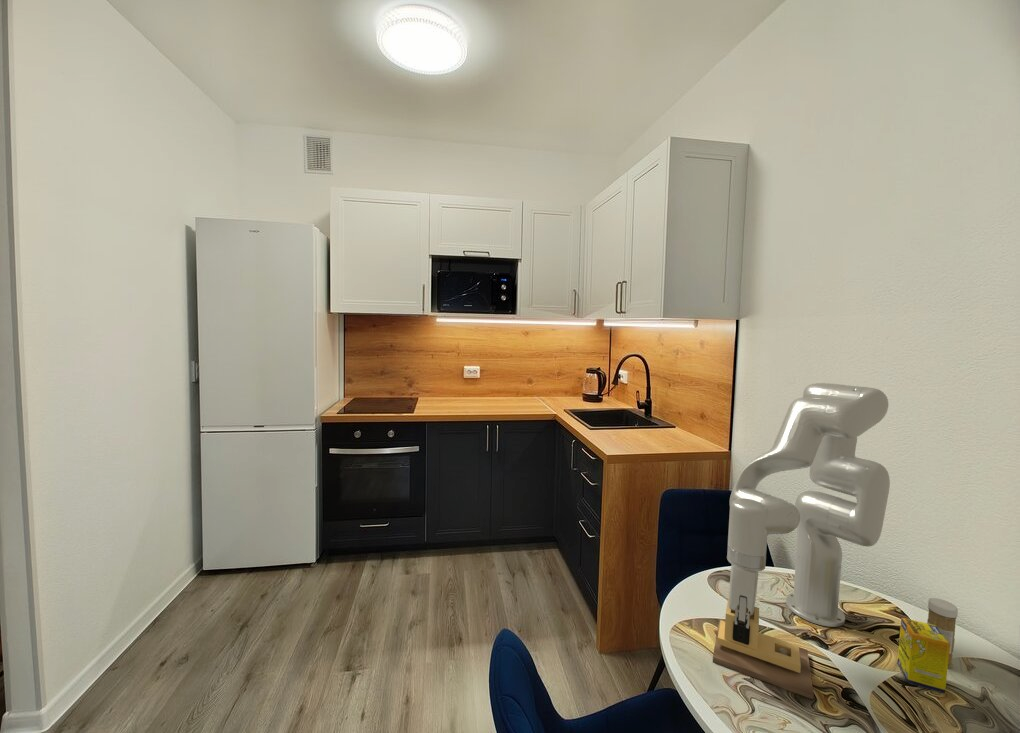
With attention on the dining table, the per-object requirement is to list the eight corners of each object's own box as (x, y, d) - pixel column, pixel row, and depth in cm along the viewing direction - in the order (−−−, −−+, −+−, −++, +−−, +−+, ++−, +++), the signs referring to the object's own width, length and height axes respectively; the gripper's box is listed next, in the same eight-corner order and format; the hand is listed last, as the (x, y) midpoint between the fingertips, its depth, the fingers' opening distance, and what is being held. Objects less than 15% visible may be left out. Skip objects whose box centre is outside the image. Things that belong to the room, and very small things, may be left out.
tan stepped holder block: (717, 643, 95) (719, 612, 95) (720, 626, 101) (721, 596, 101) (800, 673, 87) (802, 638, 87) (798, 651, 93) (800, 619, 93)
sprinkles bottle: (954, 663, 94) (960, 605, 93) (949, 671, 91) (955, 612, 90) (926, 650, 98) (931, 594, 97) (920, 658, 95) (925, 601, 94)
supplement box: (896, 663, 93) (900, 616, 93) (932, 673, 91) (936, 625, 90) (907, 683, 88) (912, 633, 87) (946, 694, 85) (951, 643, 85)
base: (718, 625, 105) (719, 605, 104) (806, 654, 95) (808, 632, 95) (712, 661, 93) (713, 639, 92) (813, 699, 83) (814, 674, 83)
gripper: (730, 536, 104) (725, 606, 105) (724, 568, 89) (719, 649, 90) (765, 544, 100) (760, 617, 101) (765, 579, 85) (760, 664, 86)
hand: (741, 631), depth 96 cm, fingers closed on tan stepped holder block, 6 cm apart
